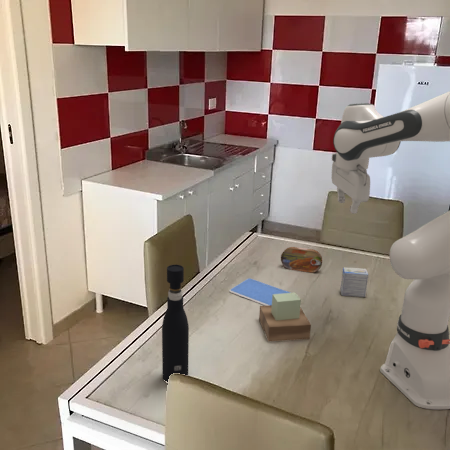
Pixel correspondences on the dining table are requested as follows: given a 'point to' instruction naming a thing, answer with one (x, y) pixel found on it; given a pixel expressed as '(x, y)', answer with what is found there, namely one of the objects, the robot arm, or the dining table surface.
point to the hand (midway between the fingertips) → (347, 207)
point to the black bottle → (175, 327)
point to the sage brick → (285, 306)
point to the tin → (301, 259)
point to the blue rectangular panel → (256, 291)
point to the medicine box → (354, 282)
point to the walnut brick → (284, 326)
